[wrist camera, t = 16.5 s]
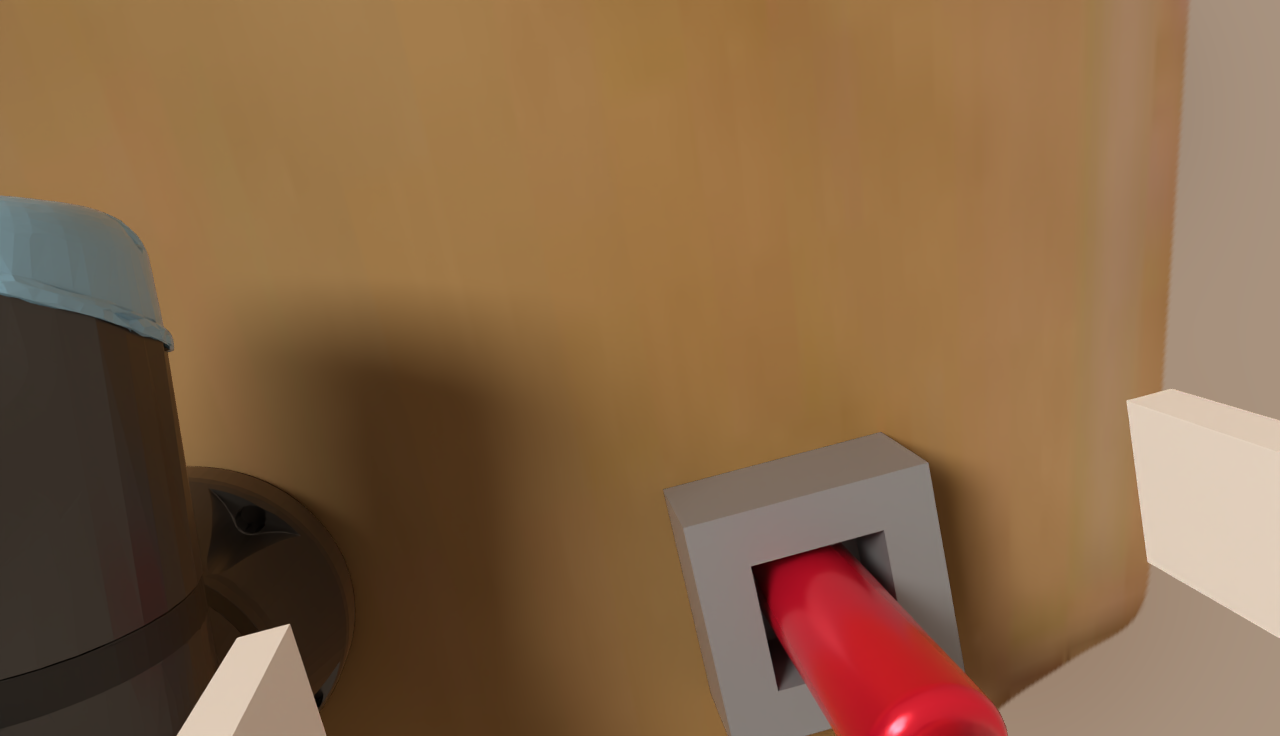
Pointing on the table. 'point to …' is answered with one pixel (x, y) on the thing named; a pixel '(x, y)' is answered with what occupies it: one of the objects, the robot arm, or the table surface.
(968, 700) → the bottle
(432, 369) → the table surface
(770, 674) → the holder
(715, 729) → the table surface
